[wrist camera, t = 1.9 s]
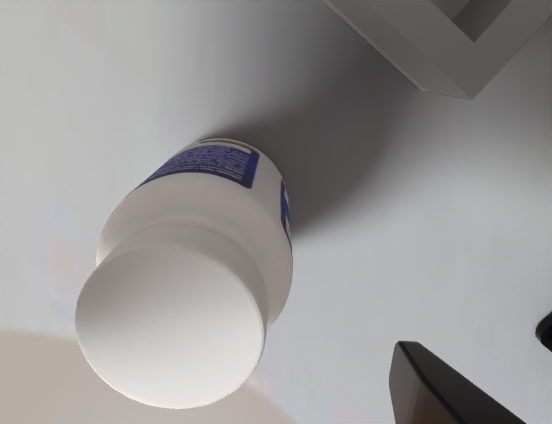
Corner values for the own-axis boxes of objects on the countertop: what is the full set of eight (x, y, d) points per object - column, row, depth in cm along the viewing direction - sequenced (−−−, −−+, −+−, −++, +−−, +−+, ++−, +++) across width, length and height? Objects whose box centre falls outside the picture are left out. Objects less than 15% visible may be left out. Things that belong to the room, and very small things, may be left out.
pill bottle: (130, 202, 17) (-13, 329, 9) (219, 107, 16) (149, 151, 8) (227, 286, 18) (180, 470, 10) (317, 204, 17) (350, 335, 9)
